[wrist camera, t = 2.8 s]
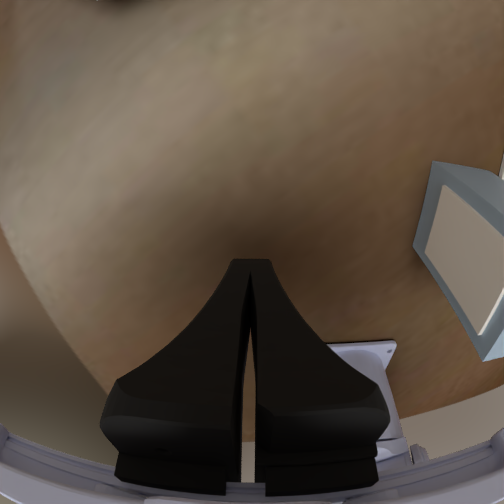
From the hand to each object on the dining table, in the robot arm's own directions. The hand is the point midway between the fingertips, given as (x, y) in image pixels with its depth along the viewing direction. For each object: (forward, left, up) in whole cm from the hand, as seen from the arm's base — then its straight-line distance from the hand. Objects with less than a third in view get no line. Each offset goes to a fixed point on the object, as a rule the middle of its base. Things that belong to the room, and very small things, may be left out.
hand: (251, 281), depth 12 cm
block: (0, -13, -8) cm, 15 cm away
